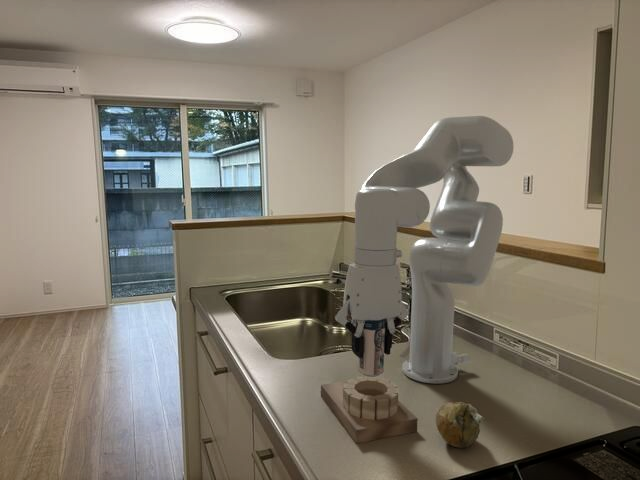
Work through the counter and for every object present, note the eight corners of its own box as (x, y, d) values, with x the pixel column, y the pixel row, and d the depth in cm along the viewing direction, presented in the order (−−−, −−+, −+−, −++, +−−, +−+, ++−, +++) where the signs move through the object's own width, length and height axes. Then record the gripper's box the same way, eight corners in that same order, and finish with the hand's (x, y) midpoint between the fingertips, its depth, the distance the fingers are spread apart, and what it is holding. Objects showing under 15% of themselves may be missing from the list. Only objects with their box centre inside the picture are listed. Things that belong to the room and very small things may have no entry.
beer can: (382, 379, 86) (385, 315, 84) (356, 376, 87) (358, 313, 85) (384, 368, 90) (386, 308, 89) (359, 366, 91) (361, 306, 90)
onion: (477, 432, 86) (480, 390, 84) (482, 458, 78) (485, 412, 77) (434, 426, 87) (436, 385, 86) (434, 451, 80) (437, 407, 78)
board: (373, 387, 102) (373, 361, 101) (416, 431, 86) (418, 400, 85) (320, 396, 98) (321, 368, 97) (356, 443, 82) (356, 410, 81)
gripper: (405, 252, 92) (401, 342, 94) (323, 255, 86) (321, 351, 89) (426, 258, 85) (422, 356, 87) (338, 263, 79) (336, 367, 82)
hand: (371, 352), depth 88 cm, fingers closed on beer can, 4 cm apart
